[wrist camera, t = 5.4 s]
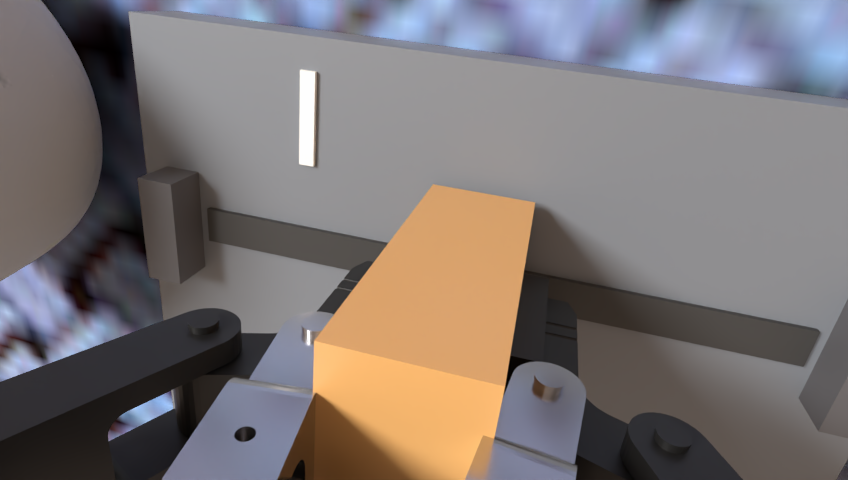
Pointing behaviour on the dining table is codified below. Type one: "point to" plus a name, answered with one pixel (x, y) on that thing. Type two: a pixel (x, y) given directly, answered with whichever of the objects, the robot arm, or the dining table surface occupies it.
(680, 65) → the dining table surface
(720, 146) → the console
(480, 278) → the fader orange
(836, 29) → the dining table surface
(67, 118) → the teacup
